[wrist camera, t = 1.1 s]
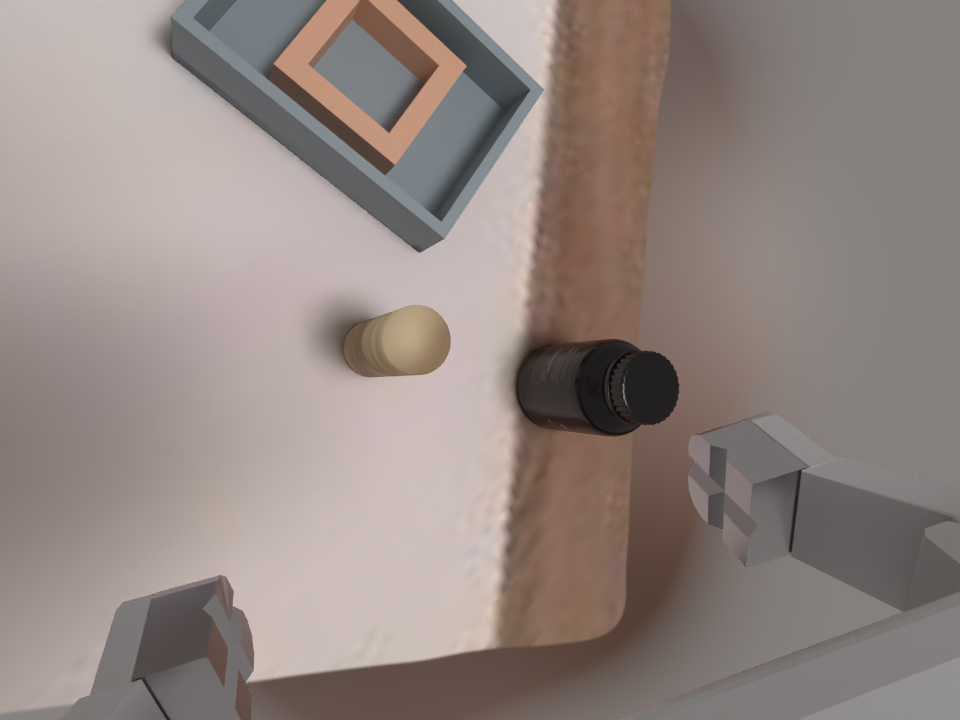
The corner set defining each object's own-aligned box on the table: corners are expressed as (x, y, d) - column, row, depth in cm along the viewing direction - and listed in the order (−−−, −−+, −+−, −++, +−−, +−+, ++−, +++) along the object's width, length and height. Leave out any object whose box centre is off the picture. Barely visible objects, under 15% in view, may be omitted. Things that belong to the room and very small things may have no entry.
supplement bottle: (533, 444, 51) (629, 460, 40) (502, 365, 50) (591, 360, 39) (599, 407, 54) (704, 413, 43) (570, 332, 53) (670, 318, 42)
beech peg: (332, 356, 44) (370, 348, 35) (363, 309, 46) (408, 290, 36) (378, 388, 46) (427, 388, 37) (408, 342, 47) (462, 331, 38)
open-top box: (172, 57, 41) (171, 16, 36) (299, -83, 45) (312, -136, 40) (419, 252, 47) (444, 238, 43) (511, 115, 51) (543, 89, 47)
